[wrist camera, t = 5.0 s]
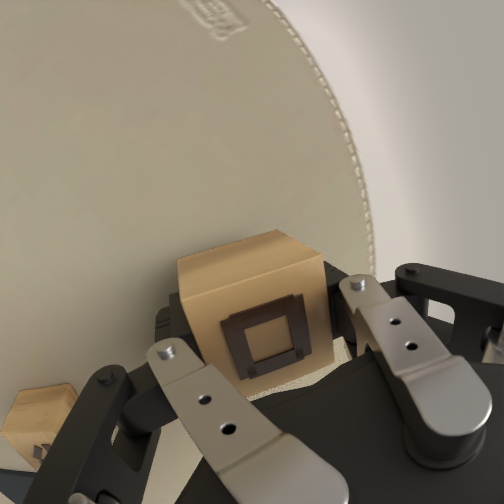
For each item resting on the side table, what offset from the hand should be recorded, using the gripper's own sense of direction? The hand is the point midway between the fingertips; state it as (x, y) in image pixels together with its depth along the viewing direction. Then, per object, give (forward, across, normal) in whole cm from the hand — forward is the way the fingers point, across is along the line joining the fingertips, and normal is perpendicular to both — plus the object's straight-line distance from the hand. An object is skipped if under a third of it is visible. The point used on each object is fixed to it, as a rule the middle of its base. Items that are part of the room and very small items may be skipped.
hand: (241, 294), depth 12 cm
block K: (+2, +13, +5) cm, 14 cm away
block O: (0, 0, 0) cm, 0 cm away
